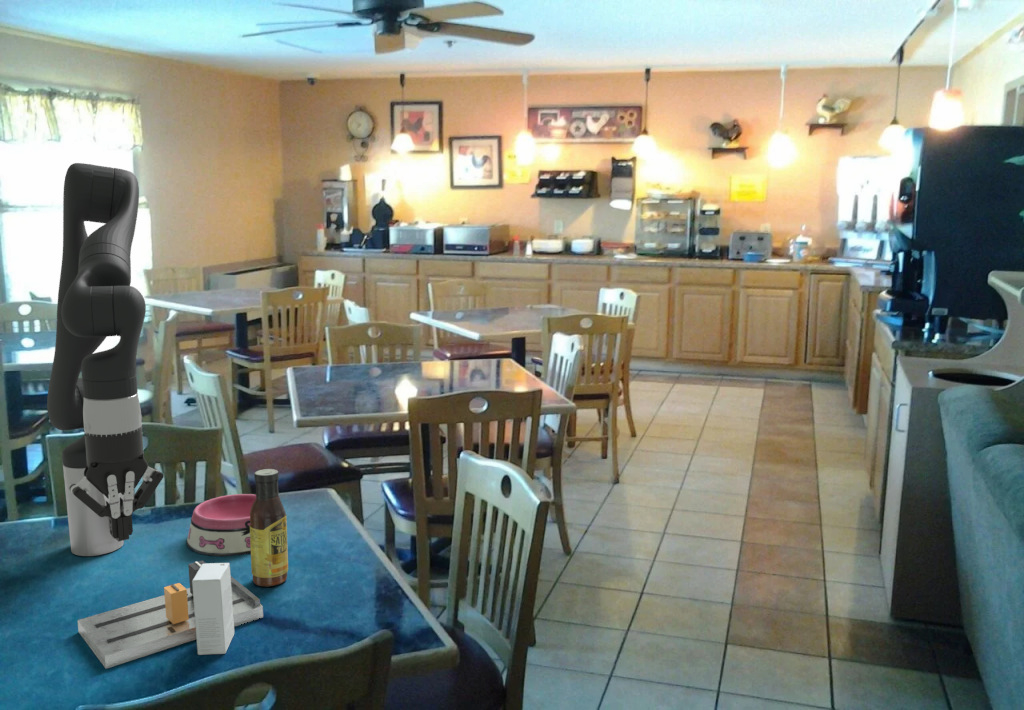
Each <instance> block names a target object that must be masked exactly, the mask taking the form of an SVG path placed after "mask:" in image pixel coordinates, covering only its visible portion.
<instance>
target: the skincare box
mask: <svg viewBox="0 0 1024 710" xmlns="http://www.w3.org/2000/svg"><path fill="white" fill-rule="evenodd" d="M205 563H206V564H202V565H201V567H200V569H199V570H198V572H197V574H196V575H195V577H194V579H193V580H192V586H193V599H194V612H195V625H196V638H197V639H196V650H197V655H198V656H204V655H224V654H226V653H227V650H228V648H229V646H230V644H231V642H232V640H233V638H234V635H235V627H234V619H233V605H232V590H231V576H232V575H231V565H230V562H214V563H213V562H210V563H207V562H205Z"/></svg>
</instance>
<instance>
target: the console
mask: <svg viewBox="0 0 1024 710" xmlns="http://www.w3.org/2000/svg"><path fill="white" fill-rule="evenodd" d="M186 589H187V602H188V616H189V620H186V621H182V622H179V623H176V624H172V623H171V622H170V621H169V620H168V619H167V618H166V608H165V595H160V596H157V597H152V598H150V599H146V600H143V601H140V602H136V603H132V604H129V605H126V606H122V607H119V608H115V609H112V610H108V611H105V612H101V613H97V614H93V615H92V616H91V615H90V616H87V617H84V618H80V619H78V620H77V628H78V629H77V630H78V633H79V634H80V636H81V638H82V639H83V640H84V641H85V643H86V644H87V645H88V647H89V649H90V650H91V651H92V652H93V654H94V655H95V656H96V658H97V659H98V660H99V662H100V663H101V665H103V667H104V668H105V669H106V670H107V669H110V668H112V667H116V666H119V665H122V664H125V663H128V662H131V661H132V662H133V661H134V660H138V659H140V658H144V657H147V656H149V655H150V656H151V655H153V654H155V653H158V652H161V651H165V650H167V649H171V648H174V647H177V646H180V645H182V644H185V643H189V642H192V641H195V640H196V641H197V638H196V625H195V612H194V599H193V595H192V594H191V593H190V587H188V588H186ZM231 590H232V605H233V619H234V628H235V627H238V626H241V624H242V625H244V623H245V624H247V622H248V623H250V622H254V621H256V620H257V621H258V620H260V619H263V618H264V606H263V605H262V604H261V600H260V598H259V597H257V596H256V595H255V594H254V593H253V592H252V591H250V590H249V589H248V588H246V587H245V586H244V585H243V584H242V583H240V582H239V581H238V580H237V579H235V578H234V577H233V576H232V575H231ZM259 618H260V619H259ZM253 620H254V621H253Z"/></svg>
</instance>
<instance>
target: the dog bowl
mask: <svg viewBox="0 0 1024 710" xmlns="http://www.w3.org/2000/svg"><path fill="white" fill-rule="evenodd" d="M255 500H256V494H253V493H238V494H236V493H235V494H228V495H221V496H217V497H214V498H210V499H208V500H204V501H203V502H201V503H199V504H198V505H196V506H195V508H194V509H193V511H192V516H191V518H190V525H189V530H188V533H187V539H186V546H187V547H188V549H190V550H191V551H193V552H195V553H196V554H199V555H204V556H209V557H210V556H211V557H236V556H237V555H238V556H243V555H244V554H245V555H250V554H251V544H250V510H251V507H252V505H253V503H254V502H255ZM249 553H250V554H249ZM245 555H244V556H245Z"/></svg>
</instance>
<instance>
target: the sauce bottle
mask: <svg viewBox="0 0 1024 710" xmlns="http://www.w3.org/2000/svg"><path fill="white" fill-rule="evenodd" d="M253 477H254V482H255V495H256V500H255V502H254V503H253V505H252V507H251V510H250V544H251V553H250V564H251V565H250V567H251V568H250V569H251V574H252V581H253V583H254V584H255V585H256V586H259V587H266V588H268V587H275V586H278V585H281V584H283V583H284V582H286V580H287V578H288V571H289V549H288V525H287V524H288V523H287V521H288V519H287V516H288V515H287V513H286V510H285V508H284V505H283V502H282V500H281V498H280V495H279V494H280V493H279V479H280V475H279V471H278V470H277V469H274V468H265V469H259V470H257V471H255V472H254V476H253Z"/></svg>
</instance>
